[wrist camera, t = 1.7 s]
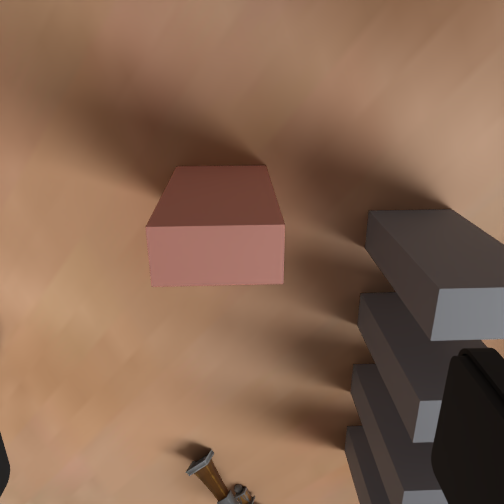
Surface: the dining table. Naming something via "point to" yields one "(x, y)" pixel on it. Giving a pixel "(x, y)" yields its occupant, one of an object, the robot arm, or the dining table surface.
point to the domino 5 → (393, 442)
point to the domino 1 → (217, 229)
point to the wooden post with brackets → (218, 482)
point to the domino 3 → (441, 271)
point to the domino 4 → (408, 360)
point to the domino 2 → (364, 468)
